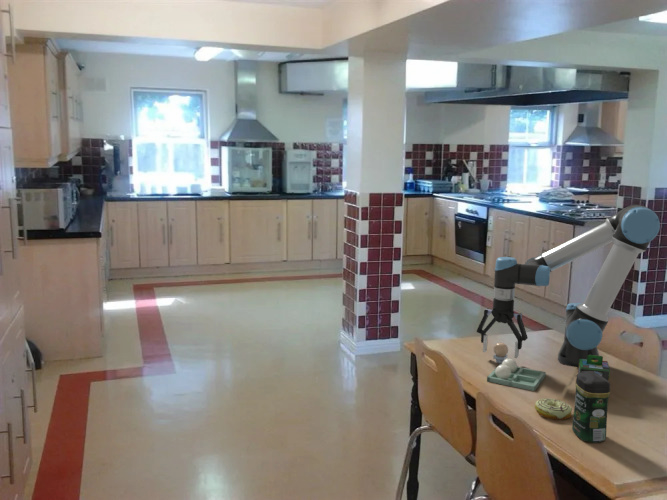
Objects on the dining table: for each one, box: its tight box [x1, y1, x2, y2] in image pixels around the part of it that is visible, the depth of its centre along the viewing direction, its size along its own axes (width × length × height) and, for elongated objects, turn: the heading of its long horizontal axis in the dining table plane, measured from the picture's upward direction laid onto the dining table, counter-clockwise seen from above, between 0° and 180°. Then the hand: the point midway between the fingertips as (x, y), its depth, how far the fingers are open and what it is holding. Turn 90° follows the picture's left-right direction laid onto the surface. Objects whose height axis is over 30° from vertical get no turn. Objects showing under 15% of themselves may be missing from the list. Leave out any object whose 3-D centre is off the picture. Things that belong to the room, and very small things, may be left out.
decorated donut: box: [534, 397, 573, 421], centre depth 192 cm, size 10×11×4 cm
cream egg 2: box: [494, 364, 511, 380], centre depth 217 cm, size 5×5×5 cm
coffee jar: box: [571, 371, 611, 444], centre depth 176 cm, size 10×8×19 cm
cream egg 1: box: [501, 357, 518, 373], centre depth 223 cm, size 5×5×5 cm
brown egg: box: [493, 342, 509, 357], centre depth 235 cm, size 5×5×5 cm
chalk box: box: [577, 355, 611, 382], centre depth 205 cm, size 9×9×15 cm
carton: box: [486, 363, 547, 392], centre depth 218 cm, size 16×16×2 cm
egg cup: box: [492, 354, 508, 364], centre depth 235 cm, size 4×4×4 cm
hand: (500, 354), depth 235 cm, fingers open, 11 cm apart
